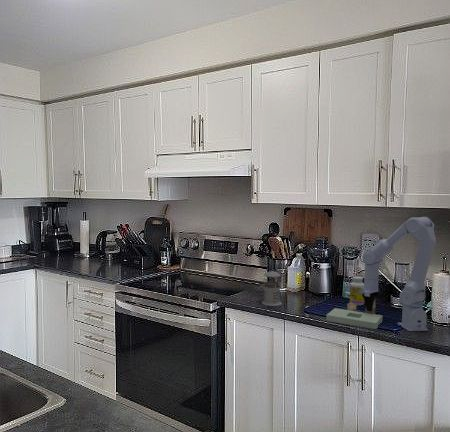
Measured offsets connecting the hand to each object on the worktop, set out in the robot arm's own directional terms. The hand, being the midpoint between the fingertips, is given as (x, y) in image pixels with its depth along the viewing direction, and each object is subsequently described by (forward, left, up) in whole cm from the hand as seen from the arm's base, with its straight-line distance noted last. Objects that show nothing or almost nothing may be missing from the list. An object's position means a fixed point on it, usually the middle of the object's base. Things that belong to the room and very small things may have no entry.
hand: (370, 309), depth 186 cm
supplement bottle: (+20, -2, -3) cm, 20 cm away
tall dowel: (0, 0, -3) cm, 3 cm away
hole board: (-6, +10, -3) cm, 12 cm away
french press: (+25, +38, -3) cm, 45 cm away
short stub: (+5, +6, -3) cm, 9 cm away
